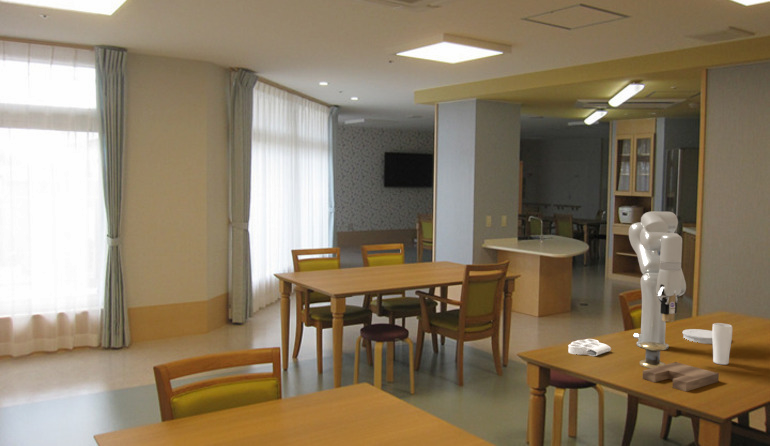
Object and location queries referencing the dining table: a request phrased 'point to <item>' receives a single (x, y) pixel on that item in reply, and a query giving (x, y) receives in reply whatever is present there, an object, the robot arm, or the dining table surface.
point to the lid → (698, 335)
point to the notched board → (681, 376)
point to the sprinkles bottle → (670, 309)
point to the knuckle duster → (588, 347)
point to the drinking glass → (721, 342)
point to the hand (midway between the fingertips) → (668, 312)
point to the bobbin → (652, 354)
